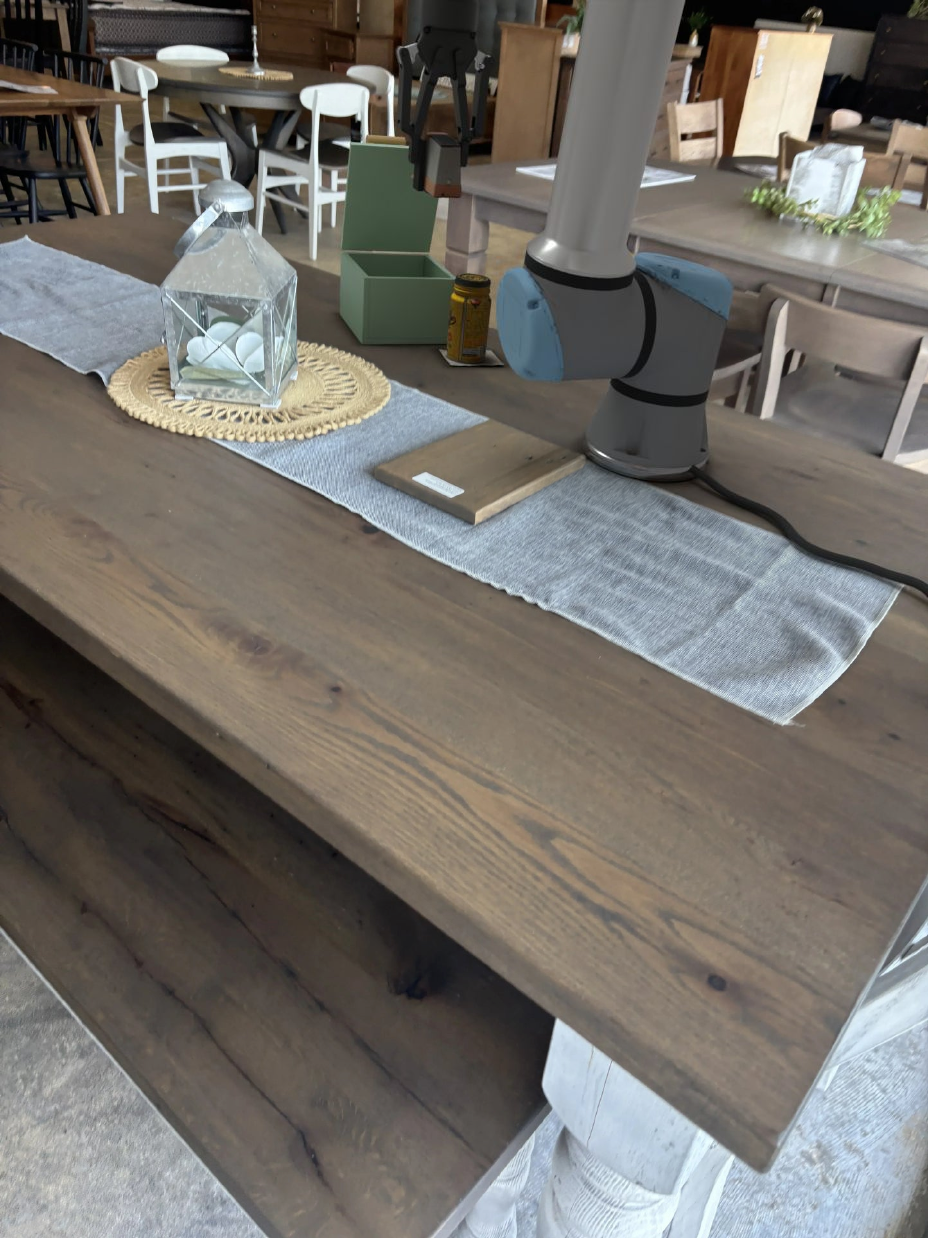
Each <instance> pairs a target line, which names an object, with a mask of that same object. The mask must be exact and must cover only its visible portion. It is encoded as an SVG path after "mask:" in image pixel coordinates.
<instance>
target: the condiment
mask: <svg viewBox="0 0 928 1238" xmlns="http://www.w3.org/2000/svg"><path fill="white" fill-rule="evenodd" d="M455 277H456V278H455V287H454V290H455V291H454V293H453V294H452V295H451V301H450V303H451V304H450V315H449V326H448V337H447V344H446V349H438V350H439V352H440V353H441V355H442V357H443V358H444V359H445V360H446V361H447V362H448V364H449V365H450V366H459V367H460V366H462V367H463V366H466V367H472V366H473V367H476V366H498V365H499V366H505V363H503V362H502V361H501V360H500V359H499V358H498V357H497V356H496V354H495V353H494V352H493V351H492V349H487V347H488V337H489V329H490V327H489V326H490V318H491V311H492V310H491V309H492V297H491V296H490V293H491V285H492V281H491V278H489V277H488V276H486V275H482V274H478V273H471V272H467V273H466V272H465V273H459V274H457V275H456V276H455Z"/></svg>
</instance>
